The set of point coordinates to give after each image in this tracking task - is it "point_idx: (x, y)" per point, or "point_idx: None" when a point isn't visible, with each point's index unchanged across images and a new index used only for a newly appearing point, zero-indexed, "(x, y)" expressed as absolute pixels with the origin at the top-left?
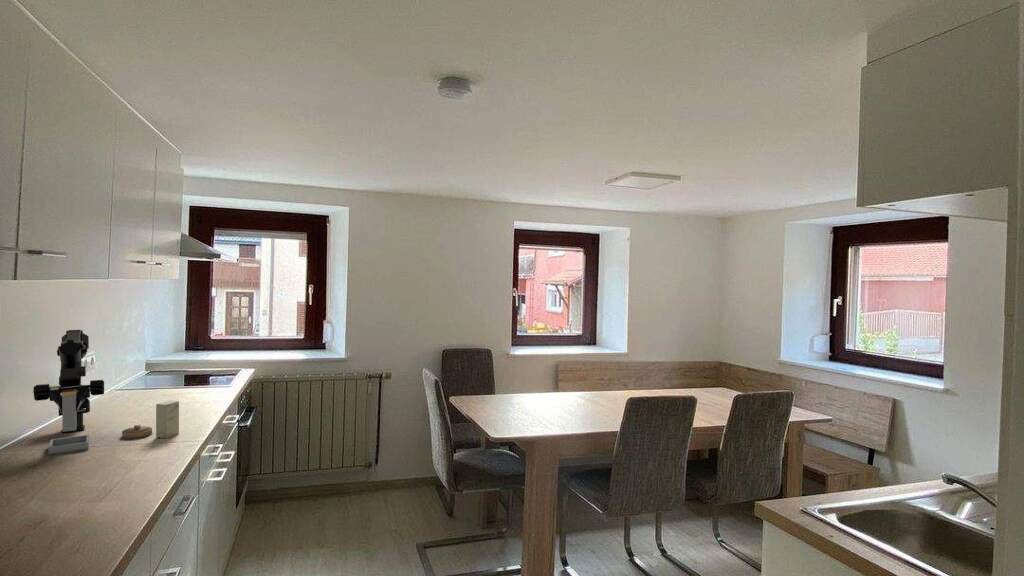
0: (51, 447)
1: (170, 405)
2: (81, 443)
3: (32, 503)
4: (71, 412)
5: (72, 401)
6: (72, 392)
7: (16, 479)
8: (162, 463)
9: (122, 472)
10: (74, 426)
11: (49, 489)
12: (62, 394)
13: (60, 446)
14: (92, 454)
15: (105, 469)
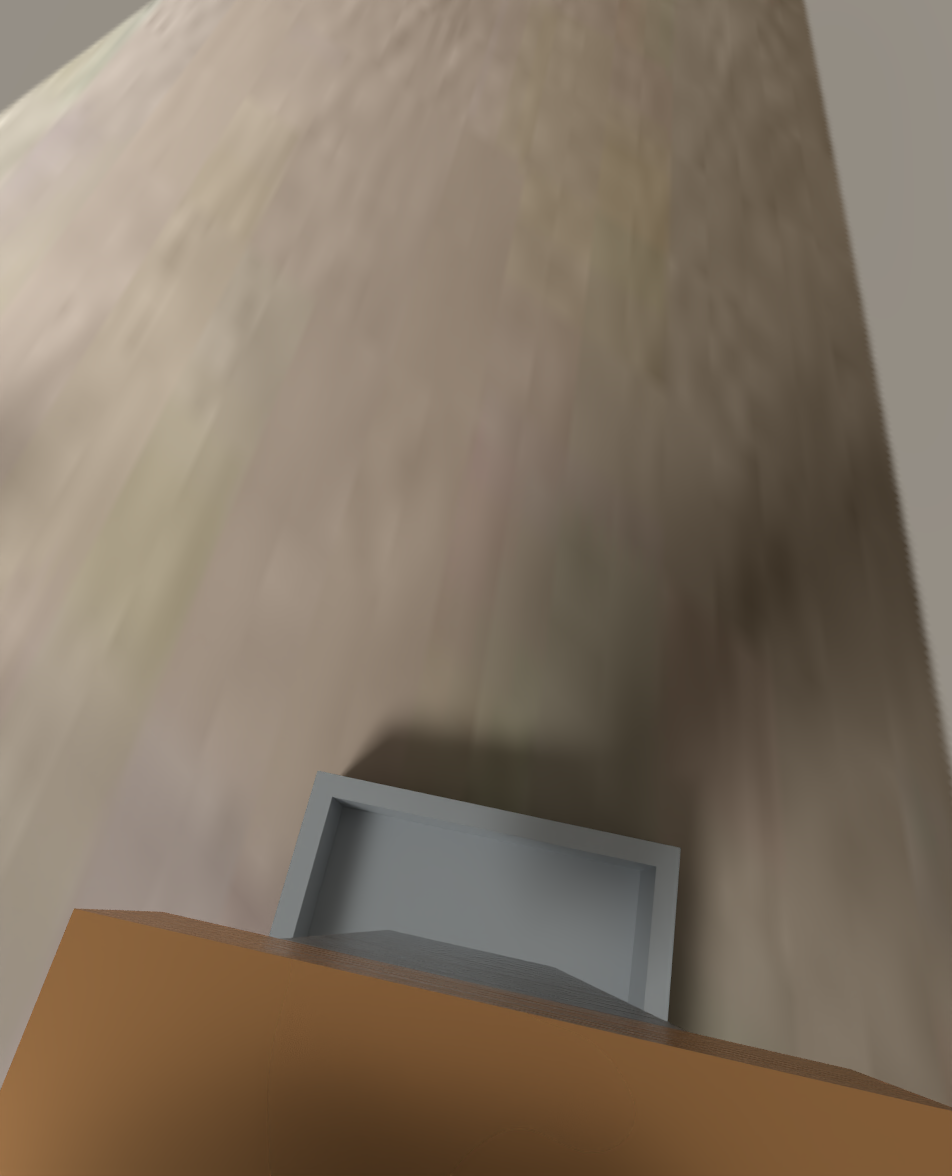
0: (650, 843)
1: None
2: (377, 785)
3: (730, 36)
4: (428, 954)
5: (378, 958)
6: (310, 955)
7: (834, 363)
8: (116, 145)
9: (331, 141)
10: (401, 934)
11: (667, 130)
12: (840, 1072)
13: (568, 824)
14: (346, 602)
15: (382, 230)
